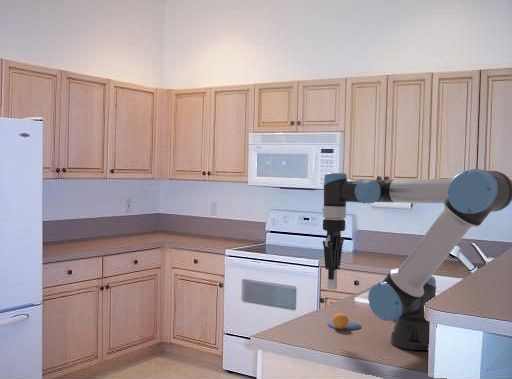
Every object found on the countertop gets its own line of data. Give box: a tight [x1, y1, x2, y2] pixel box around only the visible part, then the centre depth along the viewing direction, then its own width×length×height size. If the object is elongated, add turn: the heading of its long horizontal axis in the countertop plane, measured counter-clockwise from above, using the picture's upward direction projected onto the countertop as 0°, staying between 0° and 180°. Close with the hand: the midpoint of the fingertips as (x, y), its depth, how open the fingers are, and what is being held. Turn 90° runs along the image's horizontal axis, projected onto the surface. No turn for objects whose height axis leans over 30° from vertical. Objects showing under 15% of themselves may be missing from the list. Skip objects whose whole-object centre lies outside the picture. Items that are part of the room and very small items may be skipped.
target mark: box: [327, 321, 362, 331], centre depth 203 cm, size 12×12×1 cm
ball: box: [332, 312, 350, 330], centre depth 199 cm, size 6×6×6 cm
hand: (332, 288), depth 190 cm, fingers closed
